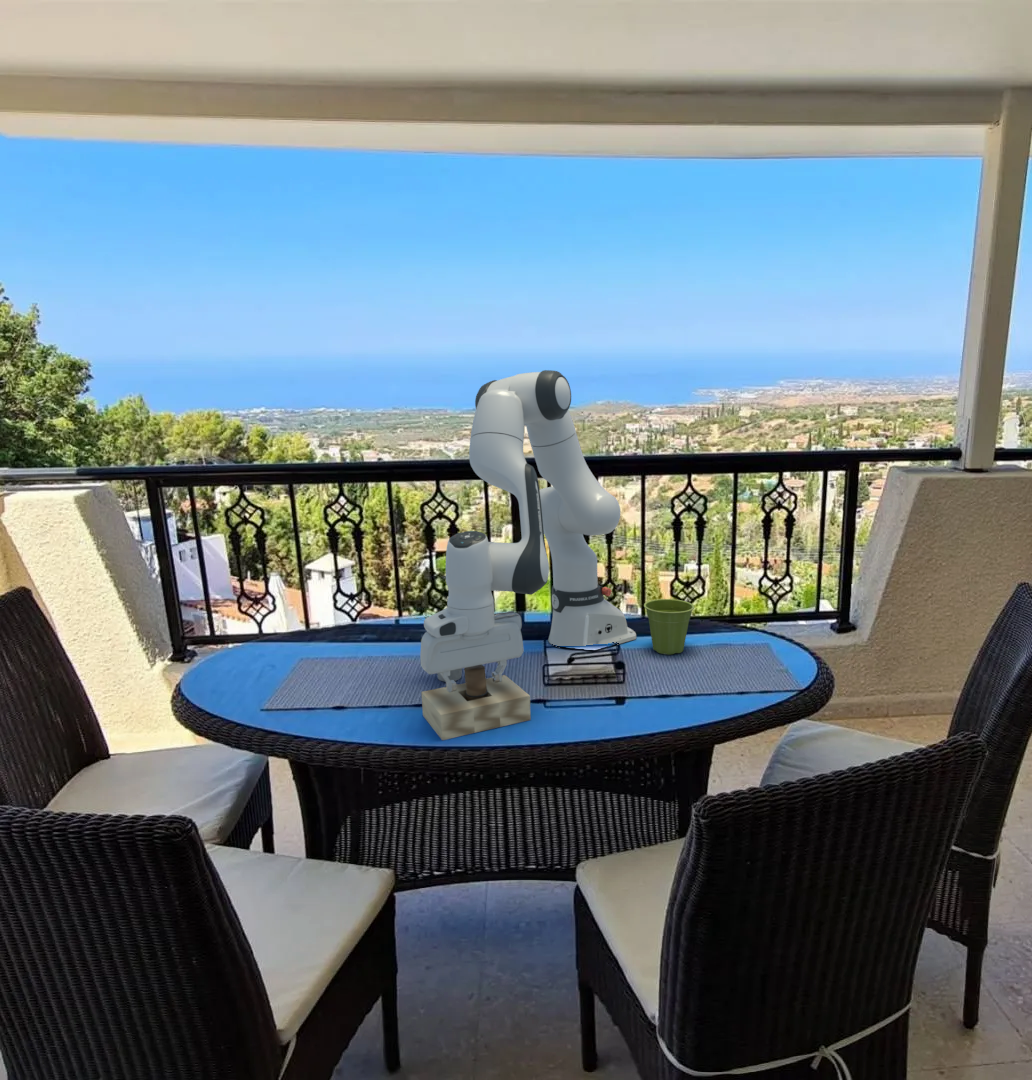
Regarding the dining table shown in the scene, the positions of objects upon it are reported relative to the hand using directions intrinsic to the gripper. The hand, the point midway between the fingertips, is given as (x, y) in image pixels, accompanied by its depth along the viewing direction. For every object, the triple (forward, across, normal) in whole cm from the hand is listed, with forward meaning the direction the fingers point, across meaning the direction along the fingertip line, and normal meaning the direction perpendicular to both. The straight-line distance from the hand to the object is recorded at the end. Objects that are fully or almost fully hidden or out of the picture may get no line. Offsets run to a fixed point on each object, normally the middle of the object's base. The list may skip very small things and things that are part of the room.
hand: (474, 686), depth 141 cm
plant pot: (+7, -55, -13) cm, 57 cm away
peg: (+6, -1, 0) cm, 7 cm away
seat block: (+7, 0, 0) cm, 7 cm away
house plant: (+7, -1, -22) cm, 23 cm away
